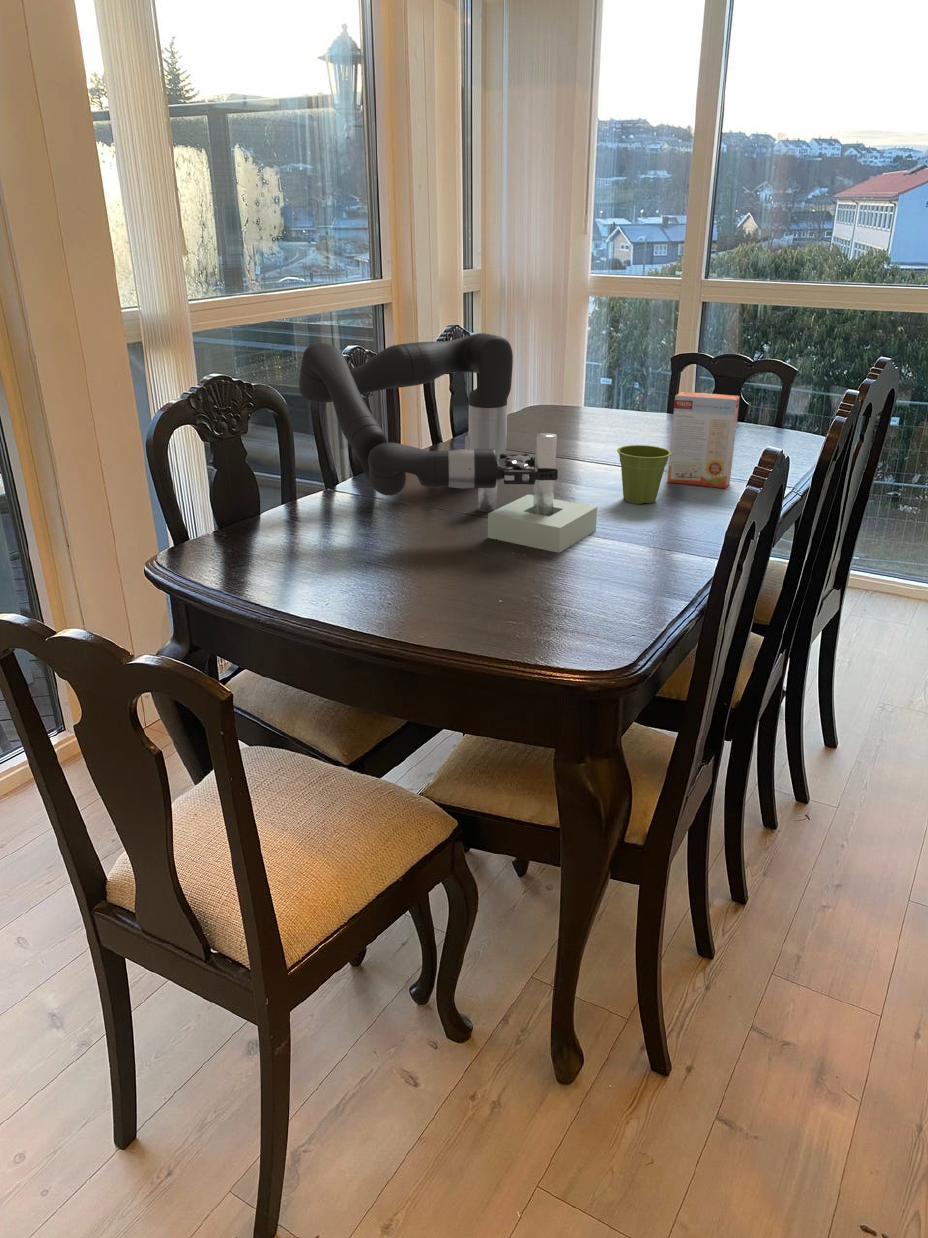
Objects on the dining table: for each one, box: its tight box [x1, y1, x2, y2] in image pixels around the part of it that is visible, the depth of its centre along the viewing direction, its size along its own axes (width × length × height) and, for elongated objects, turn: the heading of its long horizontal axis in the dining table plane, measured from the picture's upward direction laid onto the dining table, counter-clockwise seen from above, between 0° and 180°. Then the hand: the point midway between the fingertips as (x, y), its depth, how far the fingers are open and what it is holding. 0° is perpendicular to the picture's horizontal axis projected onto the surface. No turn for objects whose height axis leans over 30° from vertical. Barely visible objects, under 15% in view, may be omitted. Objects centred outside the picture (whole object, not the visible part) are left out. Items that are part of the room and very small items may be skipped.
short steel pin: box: [477, 483, 498, 513], centre depth 195 cm, size 4×4×10 cm
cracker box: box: [667, 391, 741, 489], centre depth 213 cm, size 14×6×21 cm, turn 65°
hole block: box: [487, 494, 598, 554], centre depth 181 cm, size 16×16×5 cm
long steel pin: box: [533, 432, 558, 517], centre depth 178 cm, size 4×4×20 cm
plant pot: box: [616, 444, 672, 505], centre depth 202 cm, size 12×12×11 cm
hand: (554, 468), depth 177 cm, fingers open, 8 cm apart
